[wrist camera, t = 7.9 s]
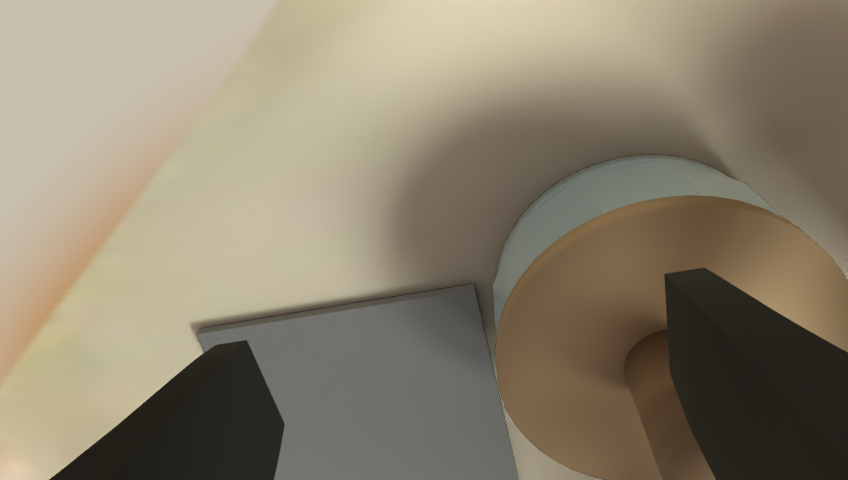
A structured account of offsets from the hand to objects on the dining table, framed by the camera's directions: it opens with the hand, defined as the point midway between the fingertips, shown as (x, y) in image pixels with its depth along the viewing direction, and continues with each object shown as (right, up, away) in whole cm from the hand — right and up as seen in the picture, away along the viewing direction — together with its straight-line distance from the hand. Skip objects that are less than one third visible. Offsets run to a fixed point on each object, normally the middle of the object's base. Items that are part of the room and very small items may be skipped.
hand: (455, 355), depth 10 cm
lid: (+7, -1, +8) cm, 10 cm away
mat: (-3, -5, +15) cm, 16 cm away
